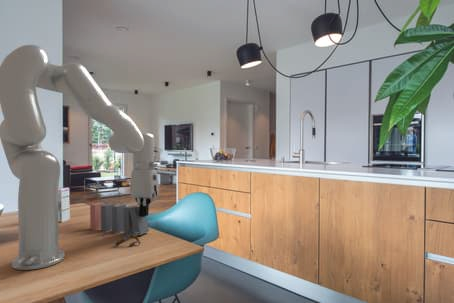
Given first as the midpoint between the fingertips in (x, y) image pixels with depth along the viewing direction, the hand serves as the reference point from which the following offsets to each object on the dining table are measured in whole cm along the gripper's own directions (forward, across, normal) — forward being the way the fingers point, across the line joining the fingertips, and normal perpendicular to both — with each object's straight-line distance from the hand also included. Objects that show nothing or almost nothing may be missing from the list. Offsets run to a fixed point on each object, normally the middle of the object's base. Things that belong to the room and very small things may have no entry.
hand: (143, 215), depth 107 cm
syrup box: (+7, +48, -3) cm, 48 cm away
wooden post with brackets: (+7, -2, +12) cm, 14 cm away
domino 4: (+7, +6, 0) cm, 9 cm away
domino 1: (+7, +23, 0) cm, 24 cm away
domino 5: (+7, +1, 0) cm, 7 cm away
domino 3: (+7, +12, 0) cm, 14 cm away
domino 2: (+7, +17, 0) cm, 19 cm away
